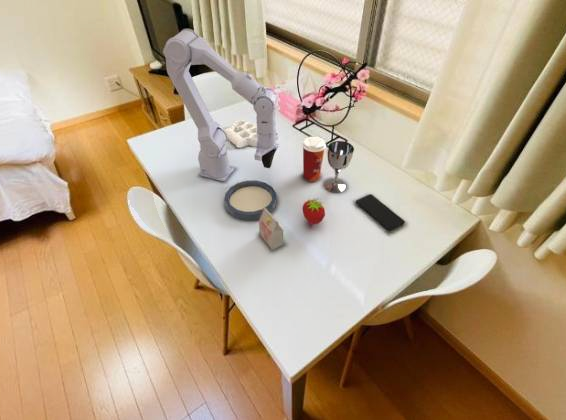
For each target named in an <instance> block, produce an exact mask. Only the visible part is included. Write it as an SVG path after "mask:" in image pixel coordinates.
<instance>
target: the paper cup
mask: <svg viewBox="0 0 566 420" xmlns="http://www.w3.org/2000/svg"><path fill="white" fill-rule="evenodd" d="M301 146H302V155H303V156H302V161H303V162H302V168H303V169H302V170H303V171H302V172H303V173H302V175H303V179H304V180H306V181H308V182H317V181H318V180H319V179H320V176H321V171H322V166H323V160H324V154H325V149H326V148H327V144H326V141H325V140H324V139H323V138H321V137H320V136H308V137H306V138H304V140H303V142H302V144H301Z"/></svg>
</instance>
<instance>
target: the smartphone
mask: <svg viewBox="0 0 566 420" xmlns="http://www.w3.org/2000/svg"><path fill="white" fill-rule="evenodd" d="M355 204H357V206H358V207H360V208H361V209H362V210H363V211H364V212H365V213H367V214H368V215H369V216H370V217H371V218H372V219H374V220H375V221H376V222H377V223H378V224H379V225H380V226H382V227H383V228H384V229H385V230H386V231H388V232H391V231H393V230H395V229H397V228H398V227H400V226H403V225H404V224H405V222H406V221H405V220H404V219H403V218H402V217H400V216H399V215H398V214H397V213H395V212H394V211H393V210H392V209H390V208H389V207H388V206H387V205H386V204H384V203H383V202H382V201H381V200H379V199H378V198H377V197H375V196H374V195H373V194H367V195H365V196H363V197H360V198H358V199H357V200H355Z"/></svg>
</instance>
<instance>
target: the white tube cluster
mask: <svg viewBox="0 0 566 420" xmlns="http://www.w3.org/2000/svg"><path fill="white" fill-rule="evenodd" d="M223 130H224V131H225V132H226V134H227V140H229V142H231V143H232V144H233V145H235V147H236V148H239V149H240V148H244V147H247V146H251V147H256V148H257V142H258V138H257V125H256V124H255V123H252V122H247V121H246V120H245V119H239V120H238V119H237V120H235V121H234V122H233V123H232V126H230V127H228V128H226V129H223Z"/></svg>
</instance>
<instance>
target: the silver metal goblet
mask: <svg viewBox="0 0 566 420" xmlns="http://www.w3.org/2000/svg"><path fill="white" fill-rule="evenodd" d="M354 151H355V147H354V146H353V145H352V144H351V143H349V142H347V141H343V140H335V141H332V142H330V143H329V144H328V146H327V154H326V155H327V163H328V165H329V166H330V168H331V169H332V170H333V171H334V178H331V179H328V180H326V181H325V182H324V188H325V189H326V190H327V191H329V192H331V193H336V194H337V193H338V194H339V193H342V192H344V191H345V190H346V184H345V183H344V181H342V180H340V179H338V177H339V174H340V173H341V172H342V171H343V170H345V169H346V168H348V167H349V165H350V164H351V161H352V159H353V156H354V153H355V152H354Z"/></svg>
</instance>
